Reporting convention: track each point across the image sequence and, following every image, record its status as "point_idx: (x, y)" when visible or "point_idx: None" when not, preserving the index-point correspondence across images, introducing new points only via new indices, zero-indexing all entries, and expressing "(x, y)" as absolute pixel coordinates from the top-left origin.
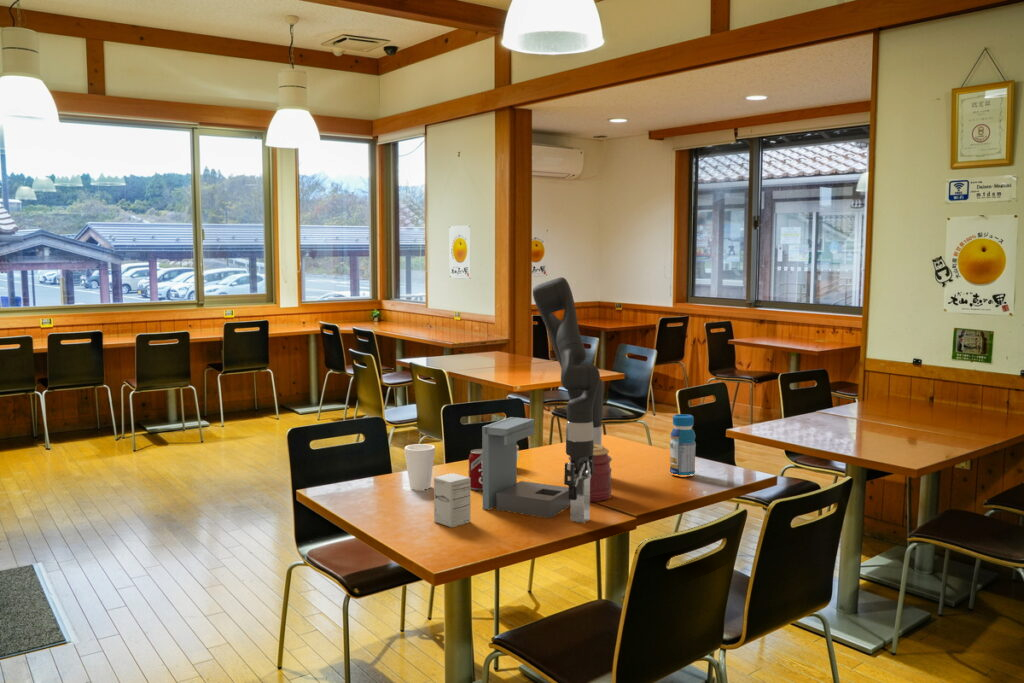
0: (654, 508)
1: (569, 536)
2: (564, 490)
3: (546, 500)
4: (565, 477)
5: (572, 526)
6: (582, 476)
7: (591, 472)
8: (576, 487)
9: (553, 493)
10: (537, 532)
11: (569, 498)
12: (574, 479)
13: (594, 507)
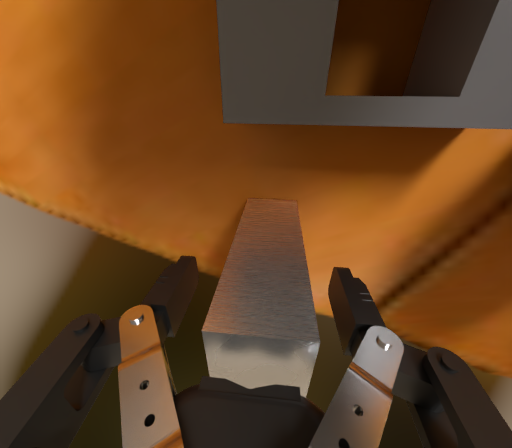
0: (445, 343)
1: (130, 240)
2: (485, 104)
3: (223, 97)
4: (33, 374)
5: (205, 220)
6: (288, 374)
7: (409, 404)
8: (169, 331)
9: (473, 20)
10: (88, 147)
11: (182, 259)
12: (205, 345)
13: (437, 215)
